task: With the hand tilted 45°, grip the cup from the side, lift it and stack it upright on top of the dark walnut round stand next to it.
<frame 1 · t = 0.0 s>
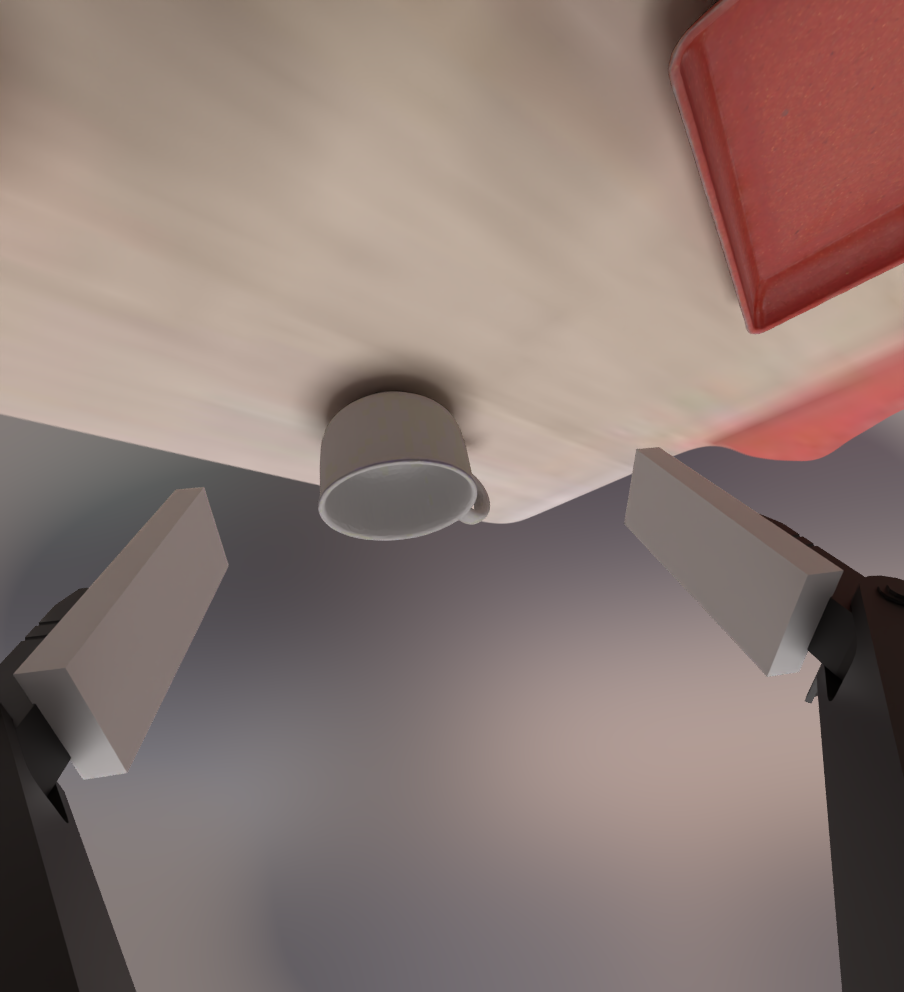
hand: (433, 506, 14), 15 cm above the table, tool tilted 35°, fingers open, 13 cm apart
teacup: (406, 422, 36), on the table
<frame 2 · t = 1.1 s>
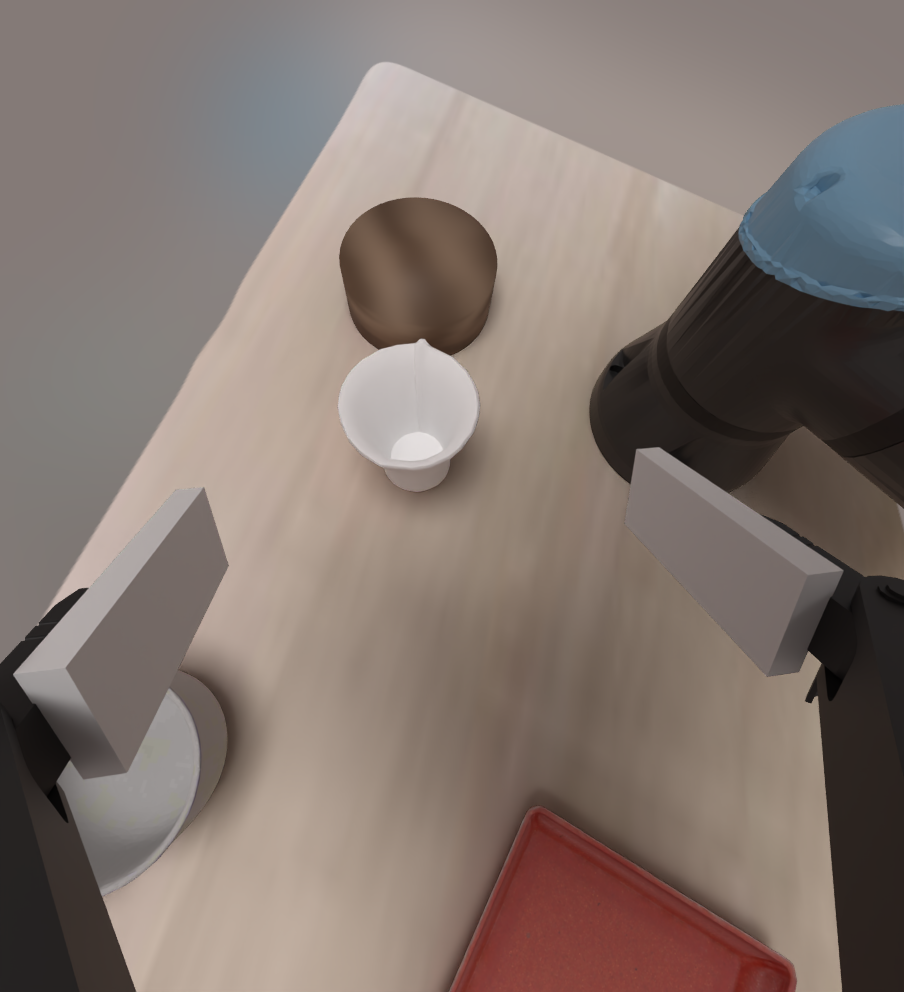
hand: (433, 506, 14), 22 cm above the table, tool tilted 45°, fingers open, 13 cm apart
cup: (412, 459, 38), on the table
walnut stand: (419, 300, 43), on the table
teacup: (151, 768, 31), on the table
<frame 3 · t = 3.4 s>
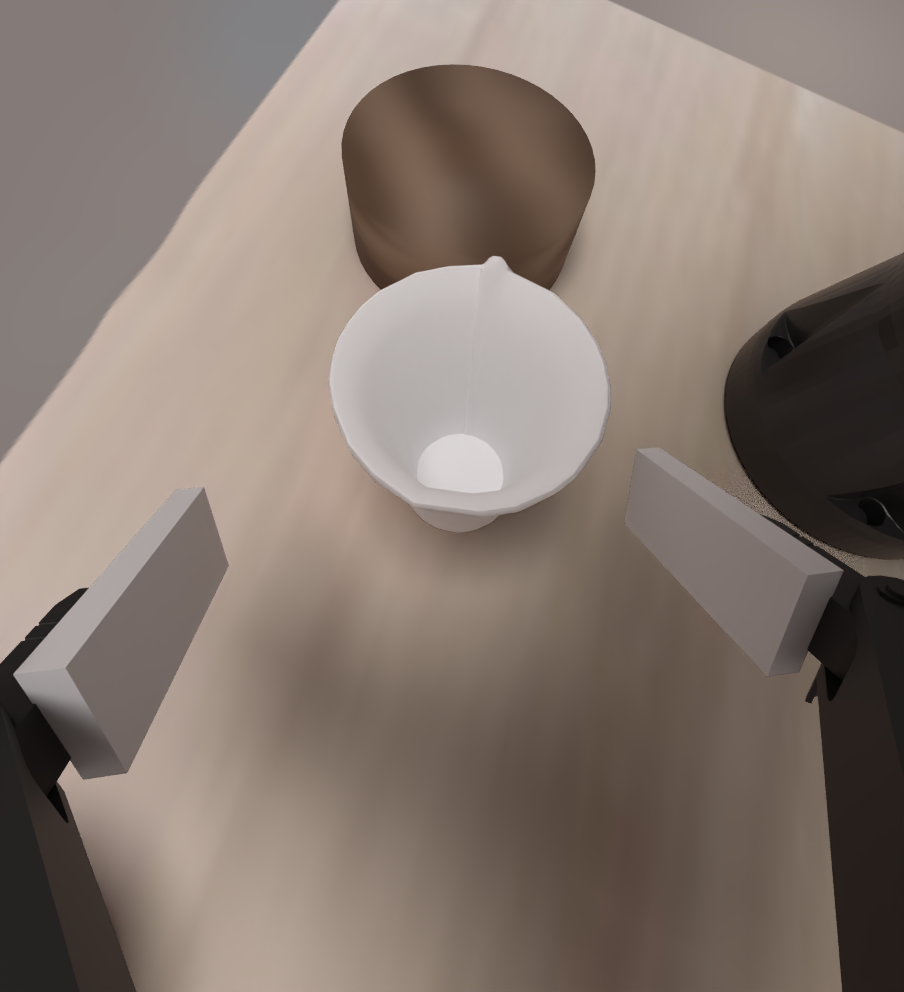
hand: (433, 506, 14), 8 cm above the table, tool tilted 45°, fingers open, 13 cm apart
cup: (450, 477, 24), on the table
walnut stand: (461, 233, 28), on the table
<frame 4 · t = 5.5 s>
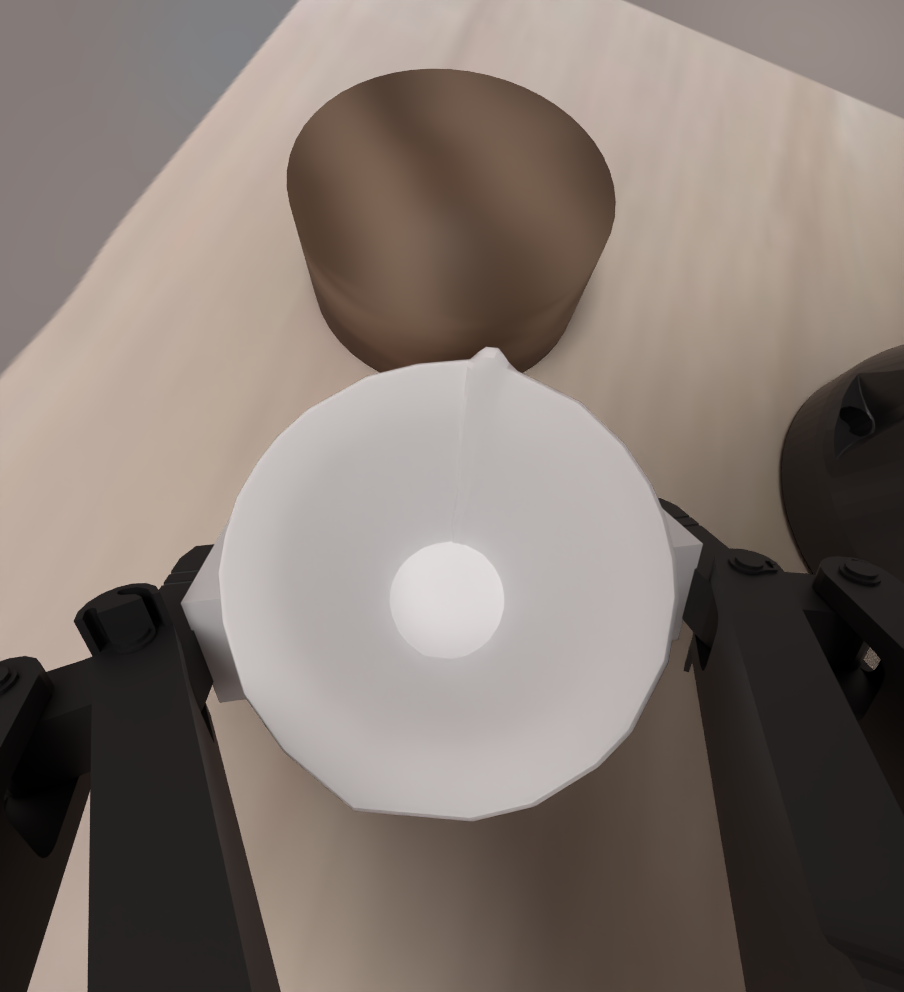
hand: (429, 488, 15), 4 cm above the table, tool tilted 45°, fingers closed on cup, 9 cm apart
cup: (435, 597, 18), on the table, touching gripper
walnut stand: (446, 275, 23), on the table
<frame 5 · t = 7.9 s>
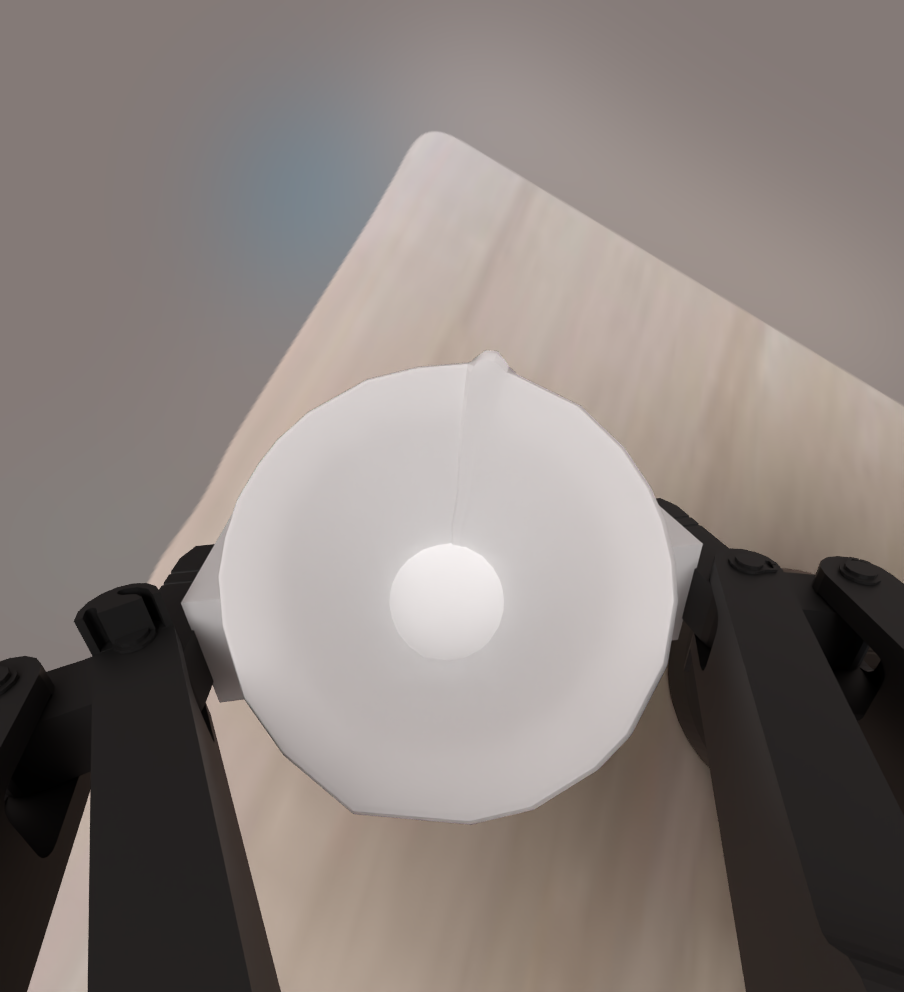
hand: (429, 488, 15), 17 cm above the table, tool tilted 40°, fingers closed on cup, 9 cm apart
cup: (435, 599, 18), point 13 cm above the table, touching gripper
when the fingers open (10 cm above the table, at t = 10.2 s): cup drops 1 cm, resting on walnut stand.
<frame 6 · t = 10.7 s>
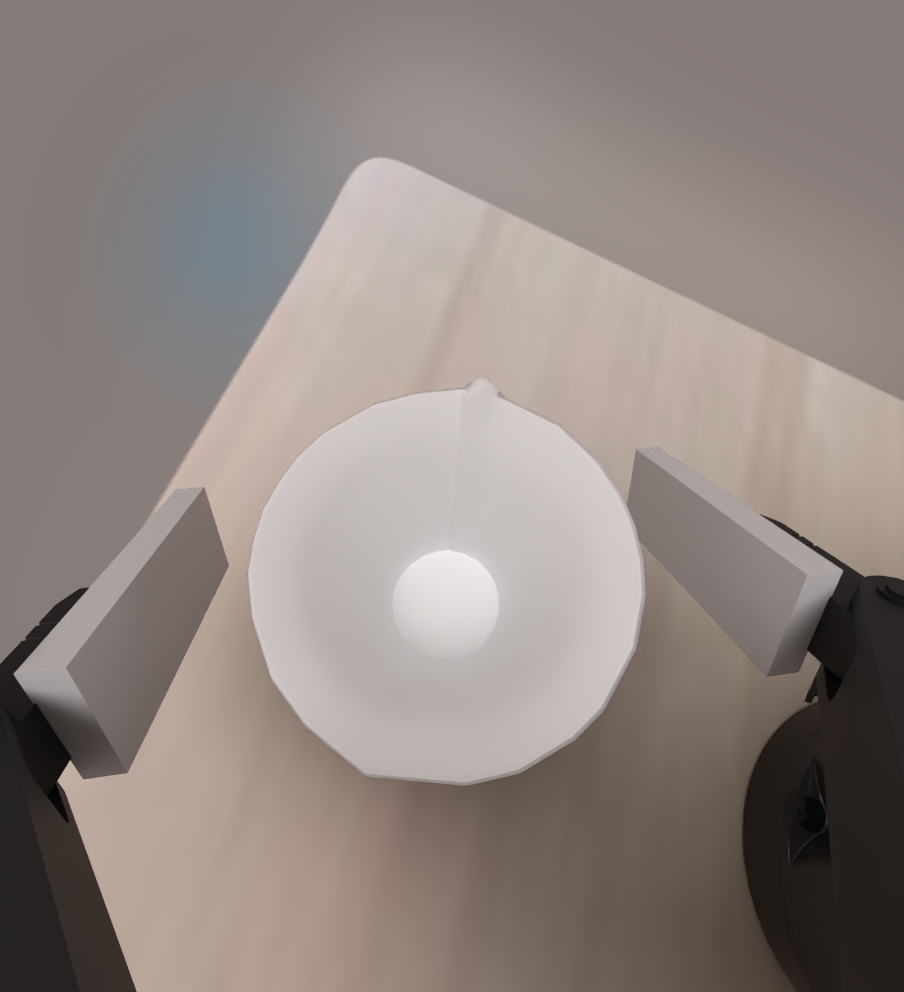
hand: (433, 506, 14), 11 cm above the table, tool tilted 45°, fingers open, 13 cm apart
cup: (435, 602, 20), point 5 cm above the table, touching walnut stand
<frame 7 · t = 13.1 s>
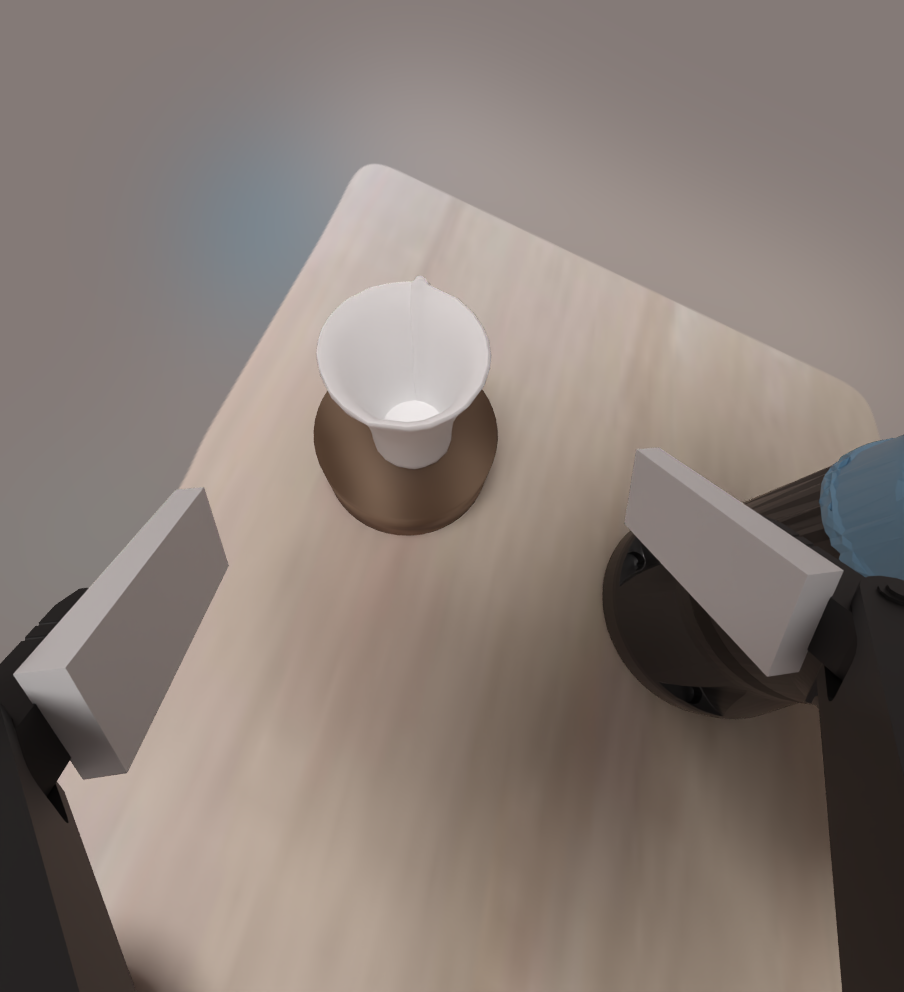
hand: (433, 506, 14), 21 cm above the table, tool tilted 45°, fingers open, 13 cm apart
cup: (407, 432, 33), point 5 cm above the table, touching walnut stand
walnut stand: (408, 457, 37), on the table
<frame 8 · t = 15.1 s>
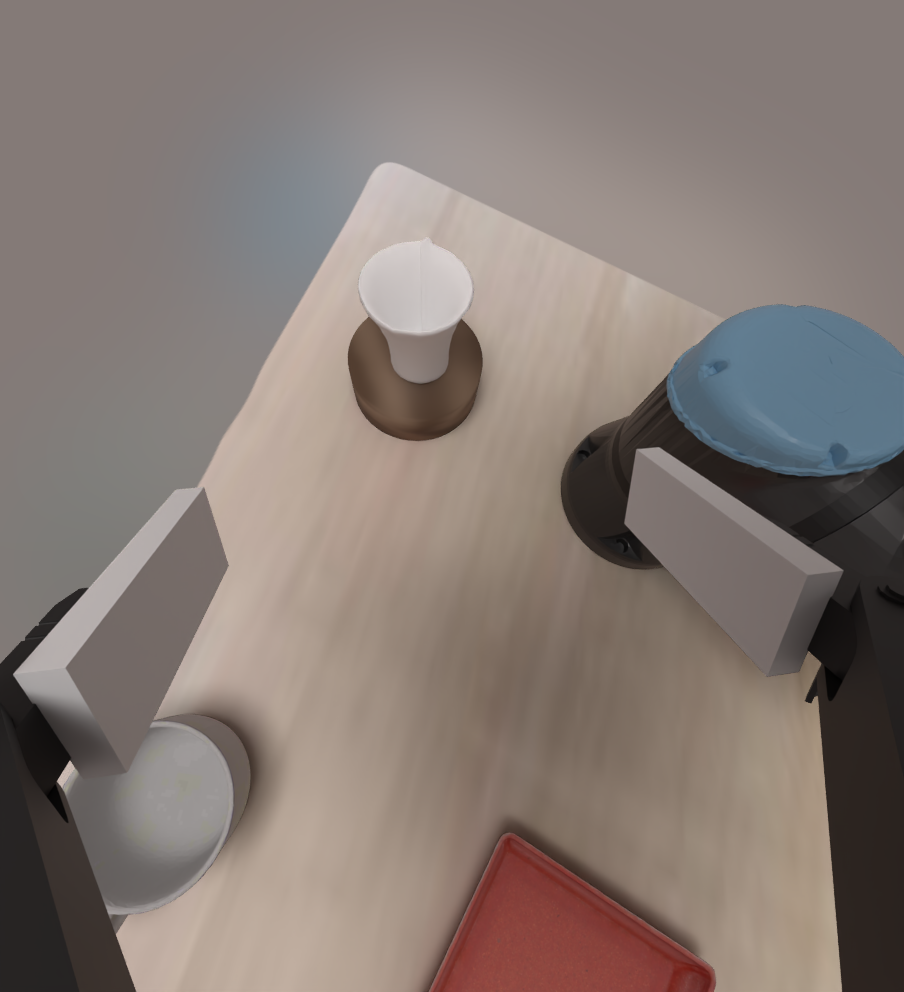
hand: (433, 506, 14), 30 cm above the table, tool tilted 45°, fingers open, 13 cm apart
cup: (416, 359, 45), point 5 cm above the table, touching walnut stand
walnut stand: (415, 385, 49), on the table
teacup: (185, 799, 36), on the table
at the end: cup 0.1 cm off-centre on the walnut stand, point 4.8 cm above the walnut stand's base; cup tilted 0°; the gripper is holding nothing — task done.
